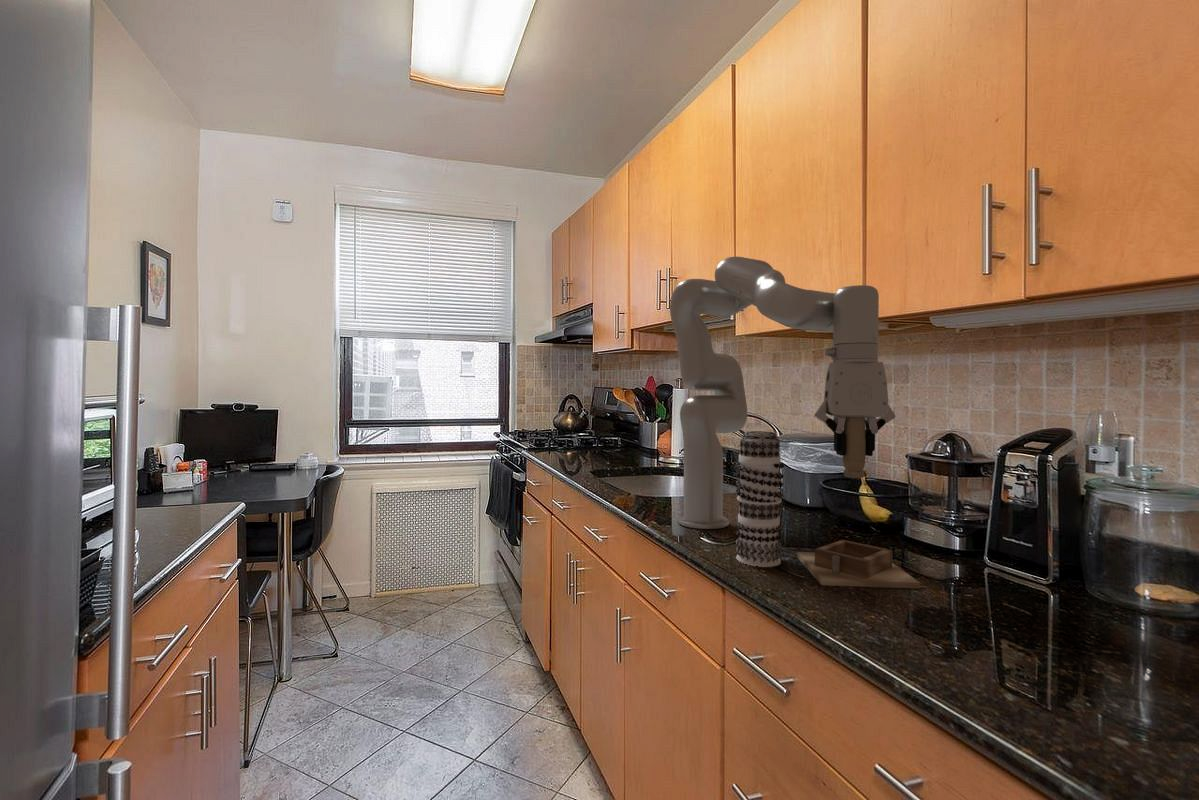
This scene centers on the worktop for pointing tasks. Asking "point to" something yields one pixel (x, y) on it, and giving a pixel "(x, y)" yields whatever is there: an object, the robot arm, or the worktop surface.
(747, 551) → the decorative candle
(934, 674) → the worktop surface
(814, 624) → the worktop surface
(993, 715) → the worktop surface
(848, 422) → the handle
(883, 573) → the socket plate
